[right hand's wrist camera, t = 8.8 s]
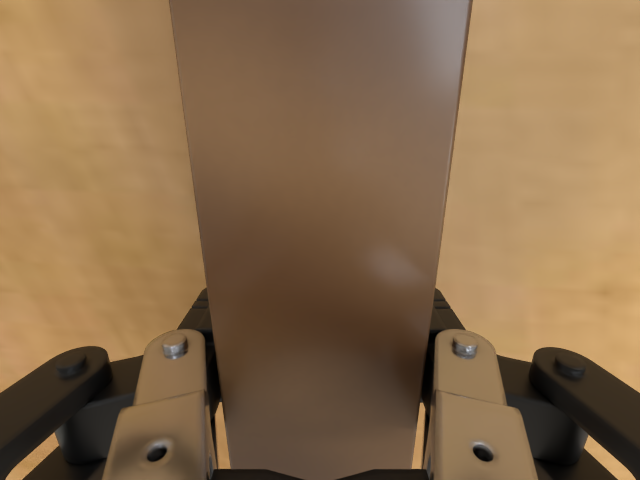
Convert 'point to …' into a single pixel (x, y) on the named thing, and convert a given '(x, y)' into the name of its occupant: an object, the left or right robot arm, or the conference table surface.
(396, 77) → the post
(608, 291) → the conference table surface
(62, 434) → the right robot arm
